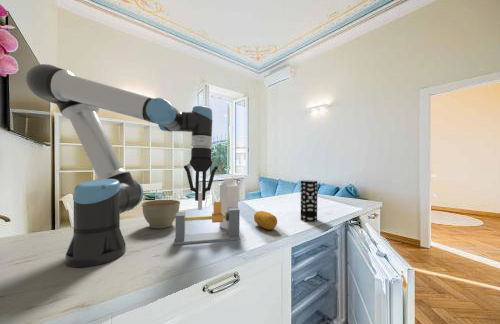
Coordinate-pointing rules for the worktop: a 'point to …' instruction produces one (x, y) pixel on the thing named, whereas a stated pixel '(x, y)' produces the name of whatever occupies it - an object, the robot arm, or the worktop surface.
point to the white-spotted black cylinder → (309, 201)
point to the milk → (228, 197)
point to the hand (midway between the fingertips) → (199, 209)
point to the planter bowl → (160, 212)
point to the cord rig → (231, 233)
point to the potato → (265, 220)
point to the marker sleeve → (217, 213)
